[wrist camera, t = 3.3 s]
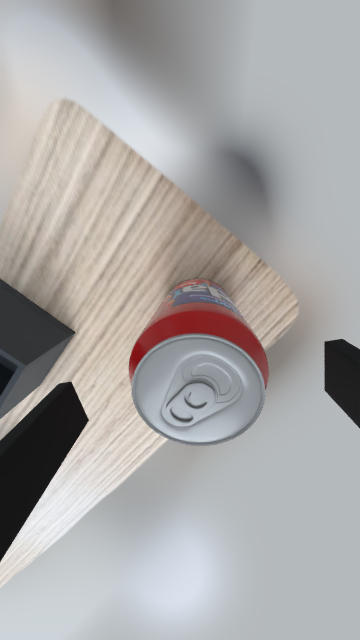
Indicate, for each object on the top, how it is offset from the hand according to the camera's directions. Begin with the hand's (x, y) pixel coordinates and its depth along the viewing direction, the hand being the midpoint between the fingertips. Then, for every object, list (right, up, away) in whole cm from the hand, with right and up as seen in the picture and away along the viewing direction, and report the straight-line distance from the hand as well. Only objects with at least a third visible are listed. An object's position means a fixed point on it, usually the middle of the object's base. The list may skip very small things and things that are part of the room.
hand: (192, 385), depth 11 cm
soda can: (+1, +5, +13) cm, 14 cm away
